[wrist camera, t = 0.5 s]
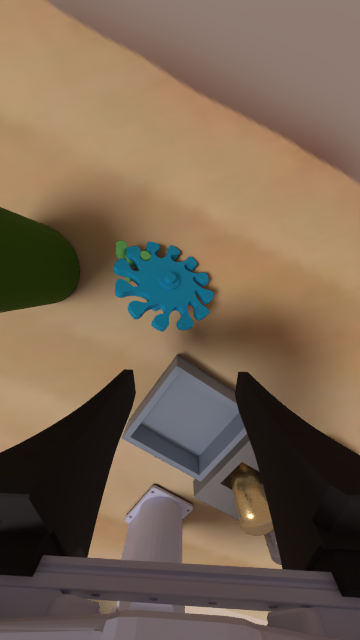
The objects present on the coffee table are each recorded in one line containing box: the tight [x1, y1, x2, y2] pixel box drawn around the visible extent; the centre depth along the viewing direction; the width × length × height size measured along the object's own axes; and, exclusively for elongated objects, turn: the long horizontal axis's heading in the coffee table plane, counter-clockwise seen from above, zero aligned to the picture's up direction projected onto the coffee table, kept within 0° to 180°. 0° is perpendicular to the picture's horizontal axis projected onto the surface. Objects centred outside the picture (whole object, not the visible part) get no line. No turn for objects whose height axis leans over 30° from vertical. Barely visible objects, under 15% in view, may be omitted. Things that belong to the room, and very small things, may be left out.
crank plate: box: [193, 434, 267, 521], centre depth 25 cm, size 18×16×2 cm
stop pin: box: [229, 462, 273, 536], centre depth 23 cm, size 4×4×6 cm
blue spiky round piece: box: [114, 240, 214, 332], centre depth 18 cm, size 11×6×10 cm
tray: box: [122, 354, 247, 482], centre depth 23 cm, size 13×13×3 cm
